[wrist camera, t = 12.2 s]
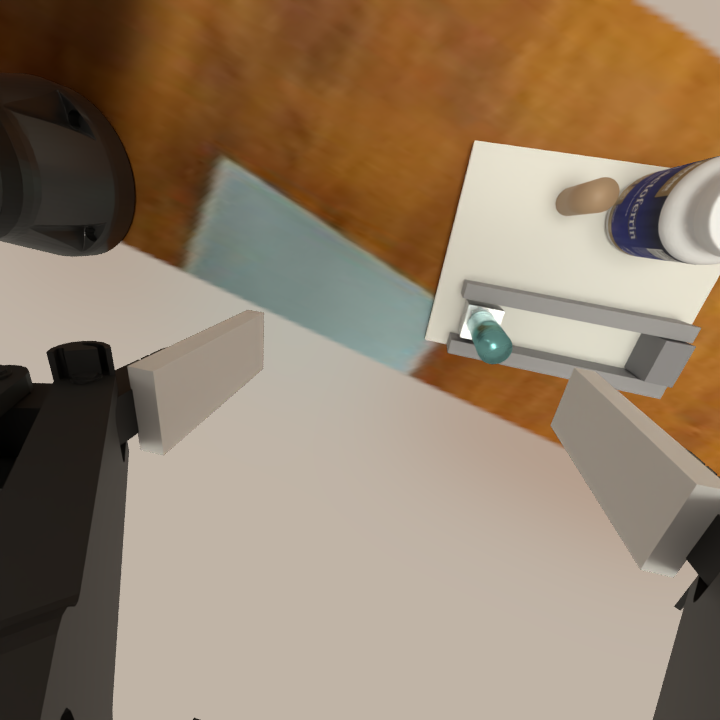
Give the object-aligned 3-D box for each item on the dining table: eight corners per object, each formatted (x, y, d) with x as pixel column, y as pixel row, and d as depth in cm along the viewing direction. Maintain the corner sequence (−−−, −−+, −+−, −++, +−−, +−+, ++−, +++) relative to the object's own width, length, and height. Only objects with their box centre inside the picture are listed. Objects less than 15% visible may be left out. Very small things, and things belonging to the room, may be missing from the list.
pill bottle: (627, 164, 24) (749, 123, 15) (712, 182, 23) (892, 150, 14) (588, 247, 26) (673, 255, 17) (665, 265, 26) (795, 283, 17)
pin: (457, 329, 30) (466, 363, 23) (466, 298, 29) (479, 323, 22) (489, 335, 30) (509, 372, 22) (499, 305, 29) (523, 332, 21)
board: (425, 335, 32) (424, 358, 27) (473, 144, 26) (484, 120, 21) (646, 383, 30) (697, 418, 24) (756, 184, 24) (857, 170, 18)
